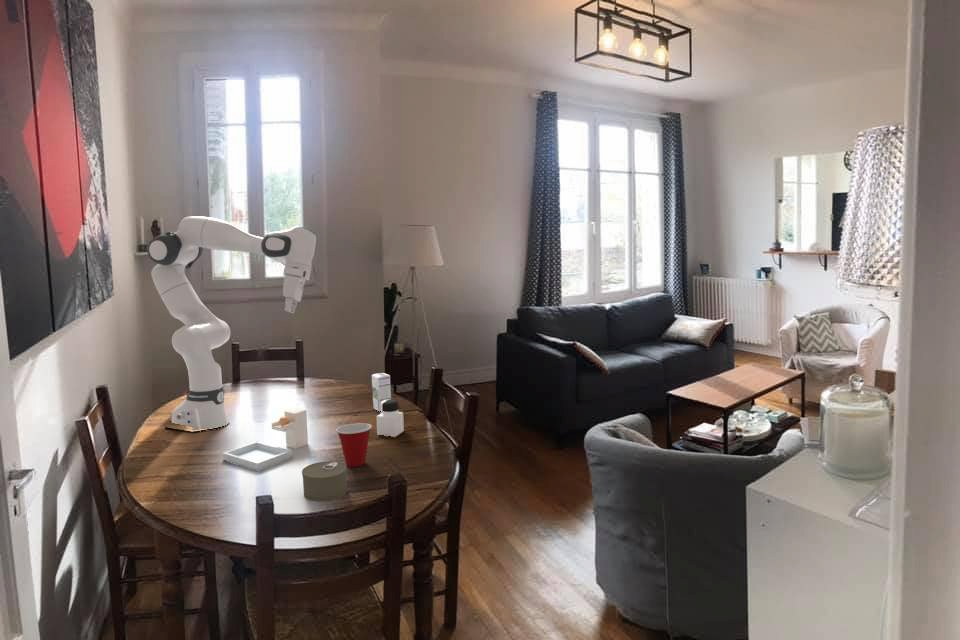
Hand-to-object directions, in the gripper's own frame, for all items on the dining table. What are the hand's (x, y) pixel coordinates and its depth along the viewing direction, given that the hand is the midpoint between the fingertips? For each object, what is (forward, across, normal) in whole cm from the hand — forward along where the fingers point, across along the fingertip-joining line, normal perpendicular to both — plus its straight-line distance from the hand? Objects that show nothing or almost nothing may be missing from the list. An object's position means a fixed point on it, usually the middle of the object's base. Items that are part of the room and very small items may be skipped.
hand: (289, 312), depth 223 cm
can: (+49, +45, +26) cm, 72 cm away
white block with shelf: (+45, +6, +10) cm, 46 cm away
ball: (+36, +9, +6) cm, 38 cm away
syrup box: (+31, -32, +38) cm, 59 cm away
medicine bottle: (+36, -3, +42) cm, 56 cm away
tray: (+48, +16, +2) cm, 51 cm away
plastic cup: (+44, +25, +32) cm, 60 cm away
